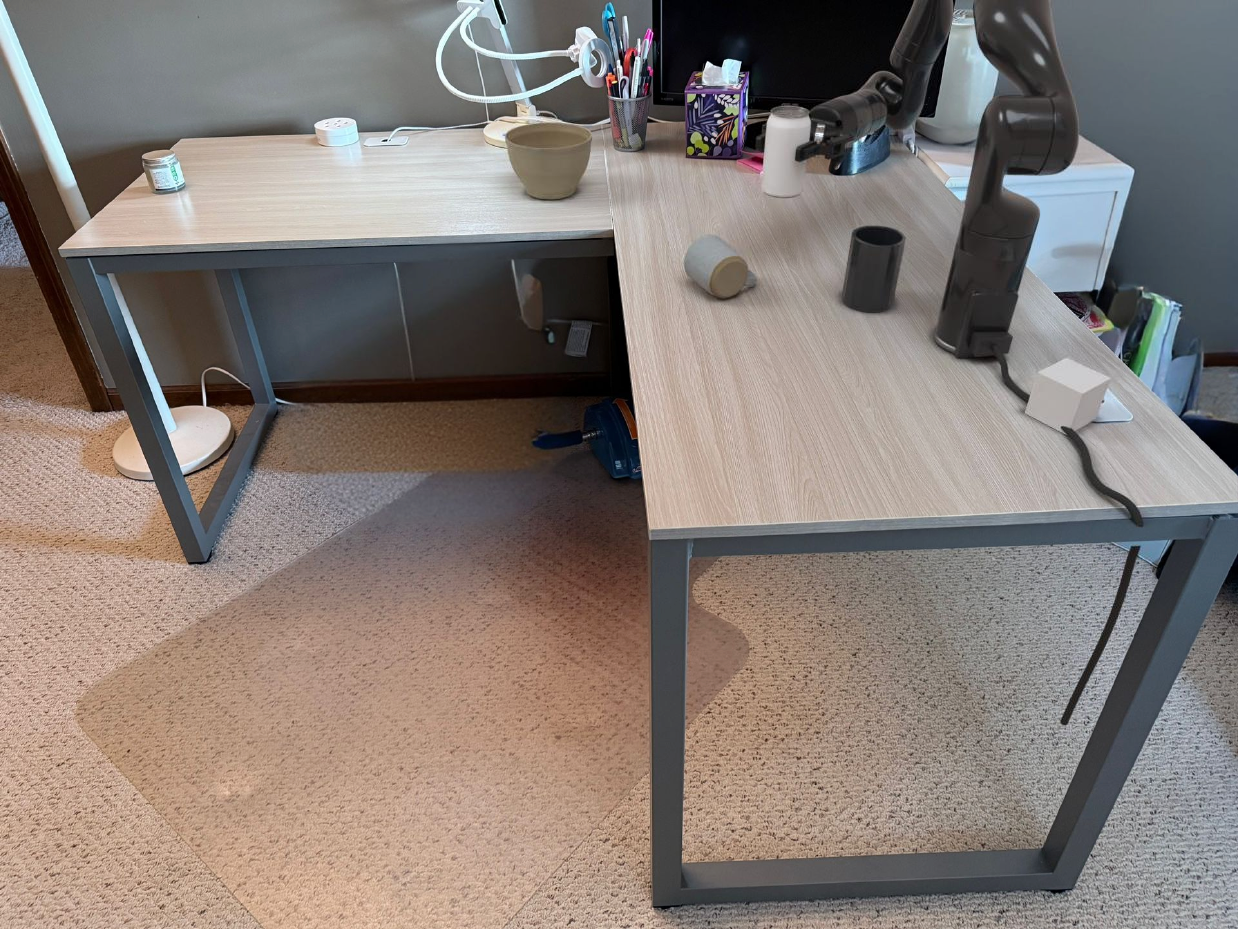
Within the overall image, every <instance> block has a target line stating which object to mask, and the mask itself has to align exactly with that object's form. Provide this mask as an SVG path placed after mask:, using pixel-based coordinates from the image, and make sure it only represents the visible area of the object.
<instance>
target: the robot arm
mask: <svg viewBox="0 0 1238 929" xmlns="http://www.w3.org/2000/svg"><path fill="white" fill-rule="evenodd" d="M953 1H954V0H913V4H912V6H911V8H910V11H909V13H908V15H907V18H906V20H905V22H904V24H903V26H902V28H901V30H900V33H899V35H898V37H897V39H896V41H895V42H894V46H893V47H892V50H891V52H890V56H889V61H890V64H891V66H892V68H893V69H894V70H895V71H896V73H897V75H898V76H897V75H895V74H894V73H892V72H890V71H886V70H880V71H877V72H875V73H874V74H872V75H871V76H870V77H869V78H868V79H867V81H866V82H865V84H864V85H862V86H861V87H860V89H858V90H857V91H854V92H852V93H850V94H846V95H841V96H838V97H835V98H833V99H830V100H828V101H825V102H823V103H820V104H818V105H816V106H814V107H813V108H811V109H810V110H808V111H809V118H810V121H811V129H810V138H809V142H807V143H805V144H802V145H800V146H798V147H797V148H796V154H795V161H797V162H802V161H804V160H807V161H808V160H809V159H811V158H814V159H819V158H820V157H821V156H824V160H825V159H826V160H833V159H835V158H838V157H840V156H844V155H846V154H848V153H851V152H853V147H854V144H855V143H857V142H858V141H859V140H862V138H865V137H866V136H868V135H871V134H873V133H875V132H877V131H878V130H880V129H881V128H882V127H883V126H886V127H887V128H888V129H890V130H892V131H894V132H903V131H905V130H908V129H909V128H911V127H912V126H913V125H914V124H915V123H916V121H917V120H918V119H919V117H920V115H921V113H922V110H923V108H924V104H925V99H926V95H927V91H928V90H927V89H928V85H929V81H930V77H931V72H932V69H933V67H934V65H935V62H936V60H937V58H938V57H939V55H940V53H941V51H942V49H943V47H944V45H945V43H946V42H947V39H948V37H949V35H950V32H951V29H952V25H953V21H954V2H953ZM972 16H973V23H974V31H975V37H976V43H977V46H978V48H979V50H980V52H981V53H982V55H983V57H984V58H985V59H986V60H987V61H988V63H990V65H992V67H994V69H996V70H997V72H999V74H1001V75H1002V76H1003V77H1005V79H1006V80H1008V81H1009V82H1010V83H1011V84H1012V85H1013V86H1014V87H1015V88H1016V89H1018V91H1019V92H1020V93H1021V94H1020V95H1019V94H1015V95H1014V94H1013V95H1012V94H1005V95H1004V94H1002V95H1001V94H1000V95H997V96H995V97H993V98H992V99H991V100H990V101H989V102H988V103H987V105H986V107H985V109H984V111H983V112H982V116H981V119H980V122H979V126H978V131H977V134H976V135H977V136H976V142H975V147H974V153H973V160H972V165H971V170H970V175H969V179H968V184H967V187H966V188H967V189H966V194H965V201H964V207H963V212H962V216H961V220H960V225H959V228H958V233H957V238H956V242H955V246H954V250H953V254H952V258H951V263H950V267H949V270H948V276H947V281H946V284H945V287H944V293H943V297H942V301H941V305H940V309H939V314H938V319H937V323H936V326H935V328H934V332H933V340H934V341H935V343H936V344H937V345H938V346H939V347H941V348H942V349H944V350H945V351H947V352H950V353H952V354H954V355H955V356H956V358H958V359H959V358H962V359H963V358H996V359H997V362H998V363H999V367H1000V372H1001V377H1002V380H1003V382H1004V384H1005V385H1006V386H1007V387H1008V389H1009V390H1010V391H1011V392H1013V393H1014V394H1015V395H1016V396H1017V397H1019V398H1020V399H1021V400H1023V401H1024V402H1026V403H1028V401H1029V398H1030V395H1031V394H1028V392H1025V391H1024V390H1023V389H1021V388H1020V386H1018V385H1017V383H1015V381H1014V380H1013V378H1012V377H1011V376H1010V372H1009V365H1008V362H1007V360H1006V357H1005V355H1007V354H1009V353H1010V349H1011V346H1012V342H1013V339H1014V336H1013V335H1012V334H1011V333H1010V332H1009V331H1010V327H1011V325H1012V320H1013V317H1014V314H1015V311H1016V307H1017V303H1018V299H1019V291H1020V287H1021V284H1022V280H1023V276H1024V272H1025V269H1026V266H1027V262H1028V259H1029V256H1030V252H1031V249H1032V245H1033V242H1034V239H1035V235H1036V232H1037V229H1038V227H1039V226H1038V225H1039V222H1040V218H1041V210H1040V208H1039V206H1038V204H1037V203H1035V202H1034V201H1033V200H1031V199H1029V198H1028V197H1026V196H1024V195H1022V194H1019V193H1017V192H1014V191H1012V190H1009V189H1008V188H1006V187H1005V186H1004V178H1005V176H1021V177H1022V176H1024V177H1026V176H1028V177H1032V176H1033V177H1043V176H1053V175H1057V174H1061V173H1063V172H1064V171H1066V170H1067V169H1068V168H1069V167H1070V166H1071V164H1072V163H1073V161H1074V159H1075V157H1076V155H1077V151H1078V148H1079V143H1080V142H1079V141H1080V120H1079V113H1078V109H1077V104H1076V100H1075V97H1074V95H1073V91H1072V88H1071V85H1070V83H1069V80H1068V76H1067V74H1066V71H1065V68H1064V65H1063V61H1062V58H1061V55H1060V51H1059V47H1058V41H1057V37H1056V30H1055V25H1054V18H1053V9H1052V4H1051V0H973V3H972ZM899 77H900V78H899ZM761 127H762V128H761V134H759V135H757V136H756V137H755V150H756V152H757V151H758V152H764V149H765V138H766V127H767V122H766V123H764V124H762V126H761ZM1060 428H1061V429H1062V430H1063V431H1064V432H1065V433H1066V434H1067V435H1066V434H1065V435H1066V436H1067V437H1068V438H1070V439H1071V441H1072V442H1073V443H1074V444H1075V446H1076V448H1077V449H1078V451H1079V452H1080V455H1081V459H1082V465H1083V469H1084V472H1085V475H1086V477H1087V479H1088V480H1089V482H1090V483H1091V485H1092V486H1093V487H1094V489H1096V490H1097V491H1098V492H1100V493H1101V494H1102V495H1104V496H1106V497H1108V498H1110V499H1113V500H1114V501H1116V502H1118V503H1120V504H1121V505H1122V506H1123V507H1125V509H1126V510H1127V511H1128V512H1129V514H1130V516H1131V519H1132V522H1133V524H1134V525H1135V526H1136V527H1138V528H1143V527H1144V520H1143V516H1142V514H1141V511H1140V510H1139V508H1138V506H1137V505H1136V504H1135V503H1134V502H1133V500H1131V499H1130V498H1129V497H1127V496H1125V495H1124V494H1123V493H1121V492H1118V491H1117V490H1114V489H1113V488H1110V487H1109V486H1108V485H1105V483H1103V482H1102V481H1101V480H1100V479H1099V477H1098V476H1097V474H1096V473H1095V470H1094V468H1093V462H1092V457H1091V454H1090V451H1089V449H1088V447H1087V445H1086V443H1085V442H1084V440H1083V439H1082V437H1081V436H1080V435H1079V433H1077V431H1074V430H1073V429H1072V428H1068V427H1066V426H1061V427H1060ZM1141 547H1142V545H1130V548H1129V551H1128V554H1127V556H1126V559H1125V564H1124V566H1123V570H1122V574H1121V577H1120V581H1119V585H1118V588H1117V591H1116V594H1115V597H1114V601H1113V604H1112V606H1111V609H1110V611H1109V614H1108V617H1107V620H1106V622H1105V625H1104V627H1103V629H1102V632H1101V634H1100V636H1099V639H1098V641H1097V643H1096V645H1095V647H1094V649H1093V652H1092V654H1091V656H1090V657H1089V660H1088V662H1087V664H1086V666H1085V667H1084V669H1083V672H1082V674H1081V676H1080V678H1079V680H1078V681H1077V684H1076V686H1075V688H1074V690H1073V692H1072V694H1071V696H1070V698H1069V700H1068V703H1067V705H1066V707H1065V709H1064V711H1063V713H1062V716H1061V719H1060V720H1059V723H1060V724H1061V725H1062V726H1065V727H1067V726H1068V725H1069V723H1070V720H1071V718H1072V715H1073V713H1074V711H1075V709H1076V706H1077V704H1078V702H1079V700H1080V698H1081V696H1082V694H1083V692H1084V690H1085V689H1086V686H1087V684H1088V682H1089V680H1090V678H1091V676H1092V674H1093V673H1094V670H1095V668H1096V667H1097V665H1098V662H1099V661H1100V659H1101V657H1102V655H1103V653H1104V650H1105V648H1106V647H1107V644H1108V642H1109V639H1110V637H1111V636H1112V633H1113V631H1114V628H1115V626H1116V623H1117V621H1118V618H1119V616H1120V613H1121V610H1122V608H1123V604H1124V602H1125V600H1126V596H1127V593H1128V589H1129V587H1130V583H1131V579H1132V577H1133V572H1134V568H1135V565H1136V561H1137V558H1138V556H1139V554H1140V550H1141Z"/></svg>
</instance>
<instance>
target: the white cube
mask: <svg viewBox="0 0 1238 929" xmlns="http://www.w3.org/2000/svg"><path fill="white" fill-rule="evenodd" d="M1111 380H1112V377H1109V376H1108V375H1105V374H1103V373H1101V372H1098V371H1097V370H1094V369H1092V368H1089V367H1088V366H1086V365H1083V364H1081V363H1080V362H1076V361H1074V360H1073V359H1070V358H1068V357H1065V358H1062V359H1061V360H1059V361H1057V362H1055V363H1053V364H1051V365H1049V366H1047V367H1045V368H1044V369H1041V370H1040V371H1038V372H1036V376H1035V380H1034V383H1033V386H1032V389H1031V392H1030V394H1029V395H1030V398H1029V401H1028V402H1027V404H1026V408H1025V411H1024V414H1026V415H1027V416H1029V417H1031V418H1033V419H1034V420H1037V421H1039V422H1040V423H1042V424H1045V425H1046V426H1048V427H1050V428H1052V429H1054V430H1055V431H1058V432H1060V433H1062V434H1064V435H1065V436H1068V435H1067V434H1066V433H1065V432H1064V431H1063V430H1062V429H1061V428H1060V427H1061V426H1066V427H1068V428H1072V429H1073V430H1074V431H1075V432H1077V430H1078V431H1079V429H1082V428H1083V427H1085V426H1086V425H1088V424H1090V423H1092V422H1094V421H1095V420H1096V419H1097V417H1098V414H1099V411H1100V409H1101V406H1102V404H1103V401H1104V398H1105V395H1106V393H1107V391H1108V388H1109V385H1110V382H1111Z"/></svg>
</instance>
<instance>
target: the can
mask: <svg viewBox="0 0 1238 929" xmlns="http://www.w3.org/2000/svg"><path fill="white" fill-rule="evenodd" d="M809 111H810V110H809V109H807V108H804V107H801V106H795V105H780V106H776V107H773V108H771V110H770V115H769V116H768V119H767V120H766V123H767V127H766V138H765V149H764V151H763V163H762V172H761V187H760V188H761V191H762V192H763V194H765V195H766V196H768V197H772V198H776V199H792V198H796V197H798V196H800V195H801V194H802V193H803V192H804V189H805V188H804V187H805V180H806V172H807V164H808V159H807V160H804V161H802V162H797V161H795V154H796V148H797V147H798V146H800V145H802V144H805V143H807V142H809V138H810V129H811V121H810V118H809Z"/></svg>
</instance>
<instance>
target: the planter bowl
mask: <svg viewBox="0 0 1238 929" xmlns="http://www.w3.org/2000/svg"><path fill="white" fill-rule="evenodd" d="M504 140H505V145H506V149H507V150H506V151H507V155H508V159H509V162H510V165H511V167H512V170H513V172H514V174H515V175H516V177H517V178H518V180H519V181H520V183H521V184H522V185H523V186H524V189H525V192H526V194H527V195H528V196H530V197H533V198H536V199H540V200H541V199H542V200H559V199H564V198H567V197H570V196H572V195H574V193H575V192H576V189H577V185H578V183H579V182H580V181H581V180H582V179H583V176H584V174H585V172H586V171H587V168H588V165H589V161H590V157H591V148H592V140H593V133H592V131H591V130H590V129H588V128H586V127H584V126H581V125H577V124H574V123H573V124H572V123H566V122H554V121H553V122H552V121H550V122H535V123H528V124H523V125H518V126H516V127H513V128H511V129H509V130H507V131H506V133H505V135H504Z"/></svg>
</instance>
